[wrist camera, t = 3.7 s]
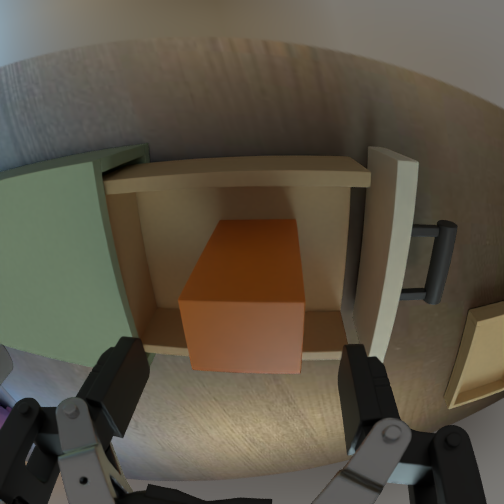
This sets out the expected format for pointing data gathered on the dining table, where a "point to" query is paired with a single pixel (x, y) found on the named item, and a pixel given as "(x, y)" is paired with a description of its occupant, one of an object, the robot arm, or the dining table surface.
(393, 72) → the dining table surface
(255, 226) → the block
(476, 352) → the tray
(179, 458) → the dining table surface
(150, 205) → the drawer
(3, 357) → the cup
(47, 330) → the cabinet
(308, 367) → the dining table surface
